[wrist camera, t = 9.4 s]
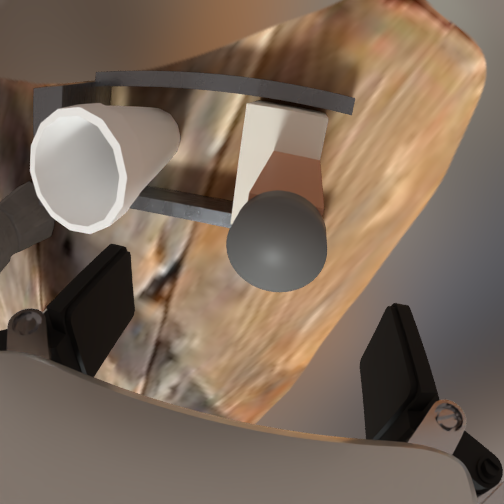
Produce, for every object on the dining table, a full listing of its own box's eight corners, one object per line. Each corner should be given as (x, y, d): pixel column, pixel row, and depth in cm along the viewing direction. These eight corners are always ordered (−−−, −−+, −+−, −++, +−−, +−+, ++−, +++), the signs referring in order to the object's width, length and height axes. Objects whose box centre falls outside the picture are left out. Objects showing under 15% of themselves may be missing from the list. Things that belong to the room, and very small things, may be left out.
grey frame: (319, 233, 33) (319, 276, 26) (83, 187, 35) (40, 214, 28) (350, 97, 25) (365, 100, 19) (84, 73, 28) (34, 78, 21)
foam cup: (104, 154, 32) (22, 194, 21) (134, 79, 28) (45, 88, 16) (171, 195, 33) (106, 255, 22) (211, 119, 29) (148, 145, 18)
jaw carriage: (308, 213, 31) (299, 341, 16) (244, 199, 32) (180, 313, 17) (330, 113, 26) (355, 149, 11) (259, 100, 27) (191, 119, 12)
